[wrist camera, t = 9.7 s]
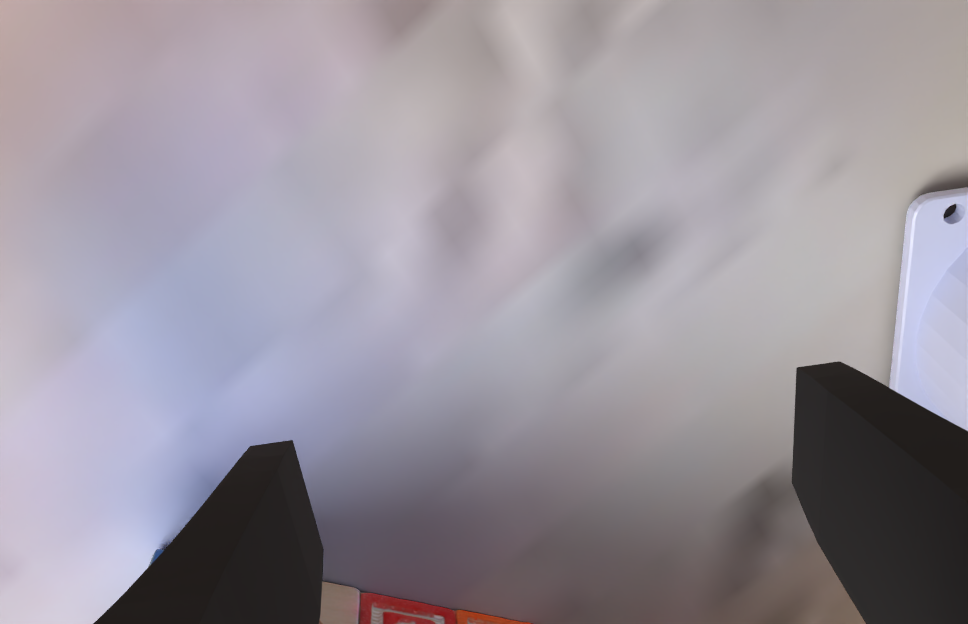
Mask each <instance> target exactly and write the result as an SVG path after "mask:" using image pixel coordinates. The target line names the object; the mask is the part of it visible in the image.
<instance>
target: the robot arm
mask: <svg viewBox="0 0 968 624" xmlns="http://www.w3.org/2000/svg"><path fill="white" fill-rule="evenodd" d="M953 204H956V209H955V212H954V213H953V214H952V215H951V216H949V217H946V218H944V217H943V215H944V213H945V210H946V209H947V208H948V207H949V206H951V205H953ZM792 484H793V486H794V489H795V491H796V493H797V496H798V498H799V501H800V503H801V506H802V508H803V510H804V513H805V515H806V517H807V520H808V522H809V524H810V526H811V529H812V531H813V533H814V535H815V538H816V540H817V542H818V544H819V546H820V547H821V549H822V551H823V553H824V554H825V556H826V558H827V559H828V561H829V563H830V564H831V566H832V568H833V570H834V571H835V573H836V575H837V576H838V578H839V580H840V581H841V583H842V585H843V586H844V588H845V590H846V591H847V593H848V595H849V596H850V598H851V599H852V601H853V603H854V604H855V606H856V608H857V609H858V611H859V613H860V614H861V616H862V618H863V619H864V621H865V622H866V624H968V187H965V188H958V189H951V190H944V191H938V192H931V193H927V194H923V195H921V196H919V197H918V198H917V199H915V200H914V201H913V202H912V204H911V205H910V206H909V208H908V212H907V216H906V226H905V235H904V245H903V255H902V265H901V275H900V285H899V295H898V305H897V315H896V325H895V335H894V345H893V355H892V365H891V375H890V385H889V387H887V386H885V385H883V384H881V383H880V382H878V381H876V380H874V379H872V378H871V377H869V376H867V375H865V374H863V373H861V372H860V371H858V370H856V369H854V368H852V367H850V366H848V365H846V364H844V363H842V362H833V363H826V364H819V365H812V366H805V367H798V368H797V373H796V397H795V421H794V445H793V468H792ZM322 575H323V546H322V543H321V539H320V536H319V532H318V529H317V525H316V521H315V518H314V514H313V511H312V507H311V504H310V500H309V497H308V493H307V490H306V486H305V483H304V479H303V475H302V472H301V468H300V465H299V461H298V458H297V454H296V451H295V447H294V444H293V440H290V441H283V442H276V443H269V444H262V445H255V446H250V447H249V448H248V449H247V451H246V452H245V453H244V454H243V455H242V457H241V458H240V459H239V460H238V462H237V463H236V464H235V465H234V467H233V468H232V469H231V470H230V471H229V473H228V474H227V475H226V476H225V478H224V479H223V480H222V481H221V483H220V484H219V485H218V486H217V488H216V489H215V490H214V491H213V493H212V494H211V495H210V496H209V498H208V499H207V500H206V501H205V503H204V504H203V505H202V506H201V508H200V509H199V510H198V511H197V512H196V514H195V515H194V516H193V517H192V518H191V520H190V521H189V522H188V523H187V524H186V526H185V527H184V528H183V529H182V530H181V532H180V533H179V534H178V535H177V536H176V538H175V539H174V540H173V541H172V542H171V543H170V545H169V546H168V547H167V548H166V549H165V550H164V551H163V552H162V553H161V554H160V555H159V556H158V558H157V559H156V560H155V561H154V562H153V563H152V564H151V565H150V566H149V567H148V568H147V570H146V571H145V572H144V573H143V574H142V575H141V576H140V577H139V578H138V579H137V580H136V581H135V583H134V584H133V585H132V586H131V587H130V588H129V589H128V590H127V591H126V592H125V593H124V594H123V595H122V596H121V597H120V598H119V599H118V600H117V601H116V602H115V603H114V604H113V605H112V606H111V607H110V608H109V609H108V610H107V611H106V612H105V613H104V614H103V615H102V616H101V617H100V618H99V619H98V620H97V621H96V622H95V623H94V624H319V620H320V614H321V596H322Z"/></svg>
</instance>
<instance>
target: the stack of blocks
mask: <svg viewBox="0 0 968 624" xmlns="http://www.w3.org/2000/svg"><path fill="white" fill-rule="evenodd" d="M163 551H164V550H159V549H157V550H156V551H155V553H154V555H153V557H152V560H151V562H150V565H151V564H152V563H153V562H154V561H155V560H156V559H157V558H158V556H159V555H160V554H161V553H162V552H163ZM150 565H149V566H150ZM319 624H532V623H529V622H519V621H514V620H508V619H504V618H500V617H495V616H489V615H484V614H479V613H475V612H469V611H464V610H454V611H453V610H450V609H448V608H444V607H438V606H433V605H428V604H425V603H420V602H415V601H410V600H405V599H397V598H394V597H390V596H384V595H379V594H374V593H360V591H359V590H358V589H356V588H354V587H348V586H343V585H338V584H333V583H328V582H323V581H322V596H321V614H320V620H319Z"/></svg>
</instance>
